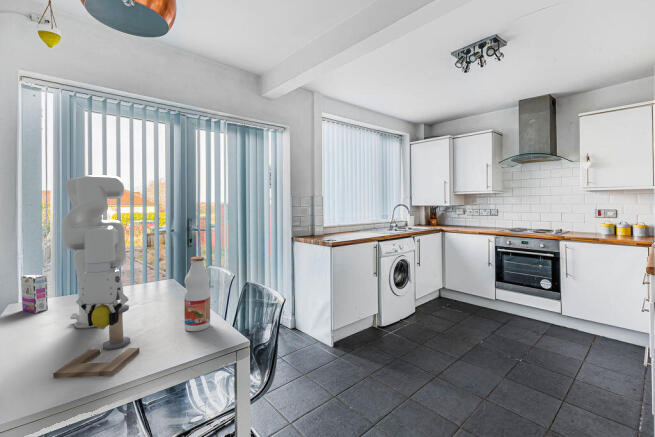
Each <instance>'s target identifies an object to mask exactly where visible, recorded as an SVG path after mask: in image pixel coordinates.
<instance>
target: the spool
mask: <svg viewBox="0 0 655 437" xmlns="http://www.w3.org/2000/svg"><path fill="white" fill-rule="evenodd" d="M129 310H130V305H129V304H127V303H125V304H124V305H123V306H122V307H121V308H120V309H119V310H118V313H119V320H118V322H117V323H116V324H114V325H108V335H109V336H108V337H109V339H108V340H106V341H105V342H103V343H102V344H101V346H102V349H103V350H104V351H115V350H118V349H121V348H122V349H123V348H124V347H126V346H128V345H129V344H131V337H129V336H124V324H123V323H124V321H123V320H124V319H123V313H125V312H127V311H129Z"/></svg>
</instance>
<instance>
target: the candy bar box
mask: <svg viewBox="0 0 655 437" xmlns="http://www.w3.org/2000/svg"><path fill="white" fill-rule="evenodd" d="M20 281H21V282H20V284H21V286H20V287H21V303H22V311H23V312H29V313H33V314H38V313H42V312H45V311H48V310H49V307H48V285H47V284H48V283H47V275H42V274H34V273H33V274H26V275H21V276H20Z"/></svg>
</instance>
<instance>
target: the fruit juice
mask: <svg viewBox="0 0 655 437" xmlns="http://www.w3.org/2000/svg"><path fill="white" fill-rule="evenodd" d="M189 260H190V261H189V262H190V264H191V265H190V267H189V270H188V272H187V274H186V275H185V278H184V285H185V290H184V296H183V298H184V299H183V300H184V302H183V303H184V304H183V305H184V313H183V314H184V329H185V331H188V332H199V331H204V330H206V329H208V328H209V327H210V325H211V290H210V285H209V283H210V281H211V280H210V275H209V273H208V272H207V271H206V269H205V264H204V261H205V257H204V256H192V257H190V259H189Z"/></svg>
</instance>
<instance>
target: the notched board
mask: <svg viewBox="0 0 655 437" xmlns="http://www.w3.org/2000/svg"><path fill="white" fill-rule="evenodd" d="M139 353H140V347H128V348H126V349H125V350H123V352H121V353H120V354H118V355H117V356H116V357H114V359H113V360H111V361H108V362H104V361H103V362H90V361H92V360H93V359H95V358H96V357H97V356H99V355H100V354H101V348H89V349H87V350H86V351H84V352H83V353H81V354H79V355H78V356H76V357H75V358H73V359H72V360H70V361H69V362H67V363H66V364H64V365H63V366H61V367H60V368H58V369H57V370H56V371H54V372H52V378H53V379H68V378H69V379H70V378H92V377H93V378H94V377H99V378H100V377H112V376H113V375H114V374H116V373H117V372H118V371H119V370H120V369H122V368H123V367H124V366H125V365H126V364H127V363H128V362H130V361H131V360H132V359H133V358H134V357H135V356H136V355H138V354H139Z"/></svg>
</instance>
